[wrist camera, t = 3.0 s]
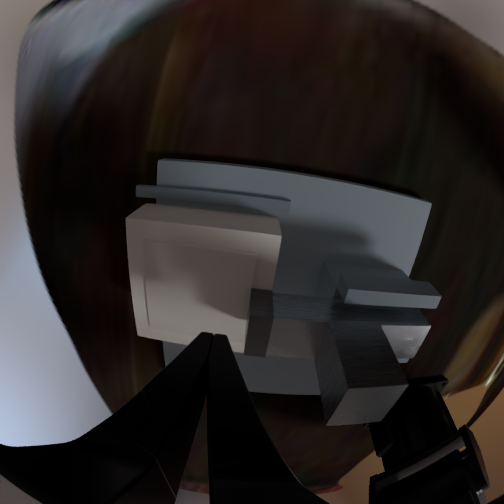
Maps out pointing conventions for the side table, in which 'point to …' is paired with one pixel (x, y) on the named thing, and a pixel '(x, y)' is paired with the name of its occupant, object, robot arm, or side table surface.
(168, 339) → the cover
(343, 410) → the grey stepped block
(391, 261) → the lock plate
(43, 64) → the side table surface
